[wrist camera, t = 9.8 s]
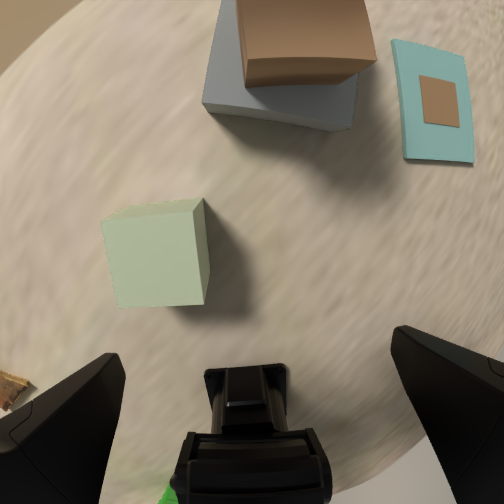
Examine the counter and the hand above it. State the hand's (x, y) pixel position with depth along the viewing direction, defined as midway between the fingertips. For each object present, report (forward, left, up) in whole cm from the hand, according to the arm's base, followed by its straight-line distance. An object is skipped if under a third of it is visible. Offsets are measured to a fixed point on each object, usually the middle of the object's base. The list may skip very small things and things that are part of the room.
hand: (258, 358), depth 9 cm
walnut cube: (+12, -3, -8) cm, 15 cm away
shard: (-13, +31, -13) cm, 36 cm away
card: (+10, -15, -12) cm, 22 cm away
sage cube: (+1, +5, -12) cm, 13 cm away
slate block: (+12, -3, -12) cm, 17 cm away
